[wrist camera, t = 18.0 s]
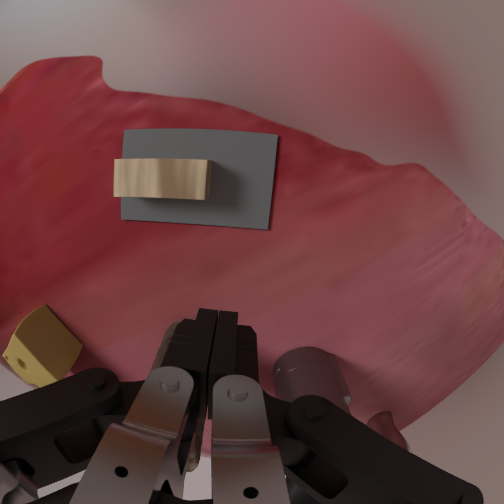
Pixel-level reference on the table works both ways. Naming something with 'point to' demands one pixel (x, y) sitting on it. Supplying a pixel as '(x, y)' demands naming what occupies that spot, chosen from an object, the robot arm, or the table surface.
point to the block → (162, 178)
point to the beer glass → (388, 429)
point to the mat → (221, 180)
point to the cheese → (42, 348)
